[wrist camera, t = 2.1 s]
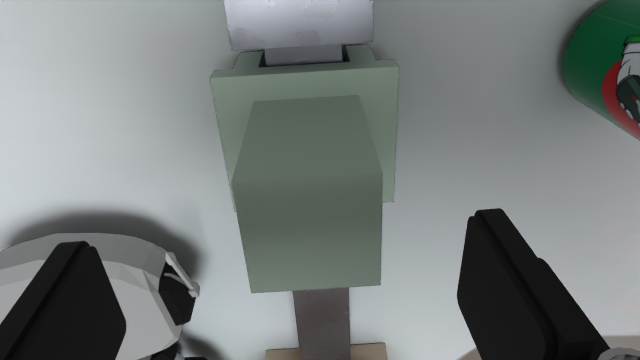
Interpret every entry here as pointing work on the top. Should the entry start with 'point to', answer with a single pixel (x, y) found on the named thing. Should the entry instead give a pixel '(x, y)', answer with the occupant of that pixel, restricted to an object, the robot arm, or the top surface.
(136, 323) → the robot toy
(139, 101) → the top surface
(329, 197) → the carriage
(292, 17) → the rail
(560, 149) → the top surface
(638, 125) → the soda can
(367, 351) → the open wooden box
